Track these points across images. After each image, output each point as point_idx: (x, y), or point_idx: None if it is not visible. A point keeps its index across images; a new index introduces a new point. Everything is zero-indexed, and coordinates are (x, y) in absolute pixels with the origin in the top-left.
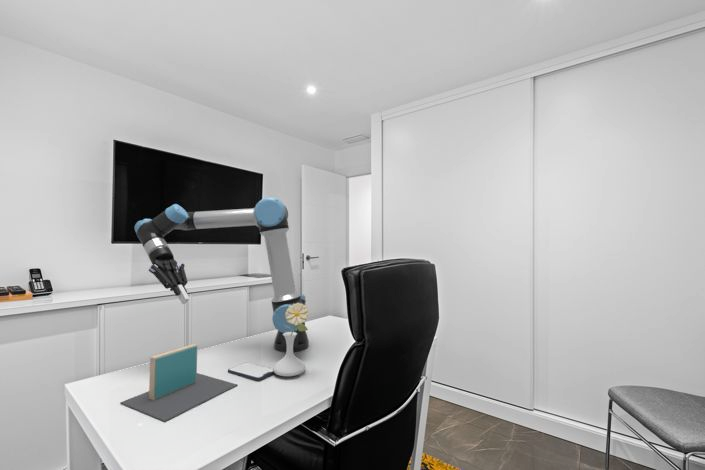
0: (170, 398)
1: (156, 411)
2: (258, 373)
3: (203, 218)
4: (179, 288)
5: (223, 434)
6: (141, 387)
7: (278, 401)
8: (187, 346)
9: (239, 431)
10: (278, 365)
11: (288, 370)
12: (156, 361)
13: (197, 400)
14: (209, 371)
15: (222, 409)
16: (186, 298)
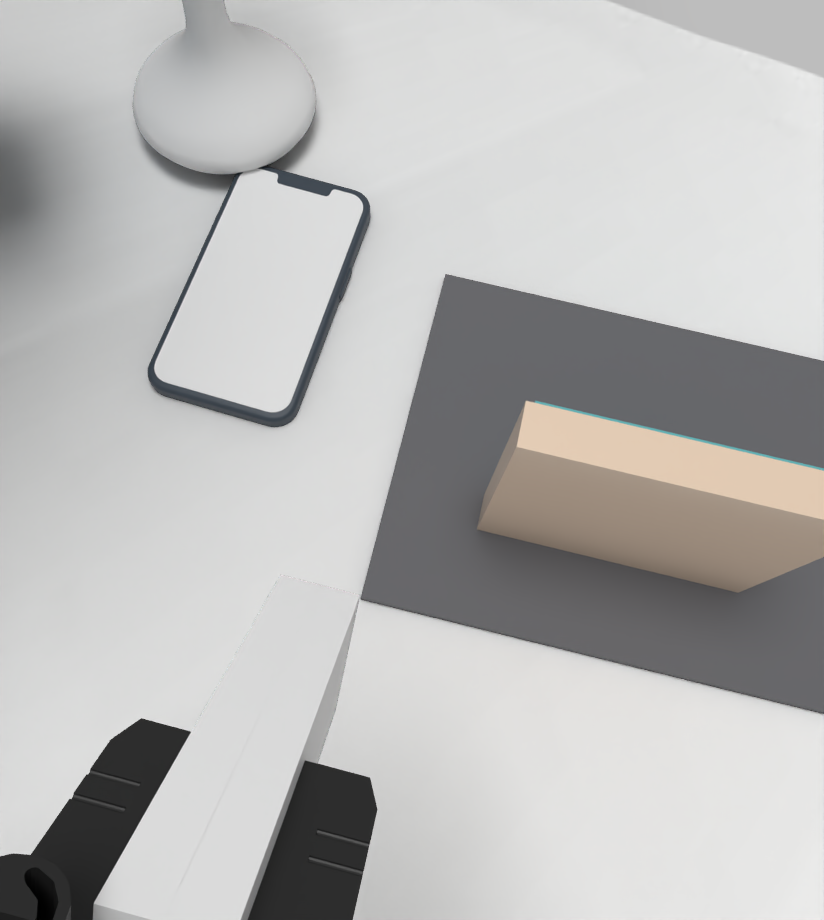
0: None
1: (808, 454)
2: (312, 223)
3: None
4: (273, 835)
5: (798, 136)
6: (635, 784)
7: (526, 66)
8: (587, 445)
9: (761, 101)
10: (274, 108)
11: (300, 65)
12: None
13: (655, 352)
14: (303, 538)
15: (663, 223)
16: (337, 595)
